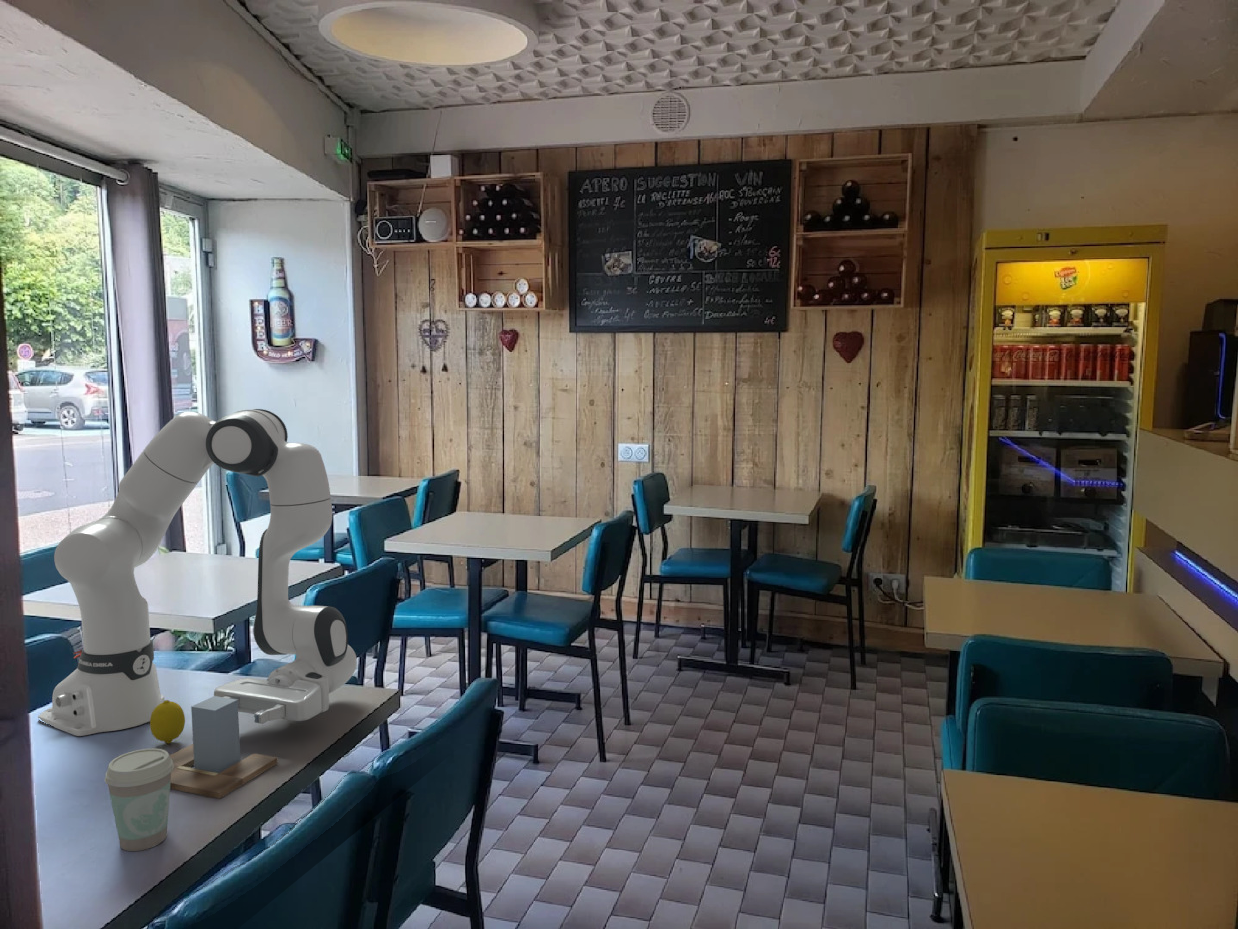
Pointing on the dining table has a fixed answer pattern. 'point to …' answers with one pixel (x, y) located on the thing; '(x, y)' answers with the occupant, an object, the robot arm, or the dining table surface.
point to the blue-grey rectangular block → (215, 734)
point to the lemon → (167, 721)
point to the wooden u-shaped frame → (215, 774)
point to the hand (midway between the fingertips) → (235, 715)
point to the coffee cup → (140, 797)
